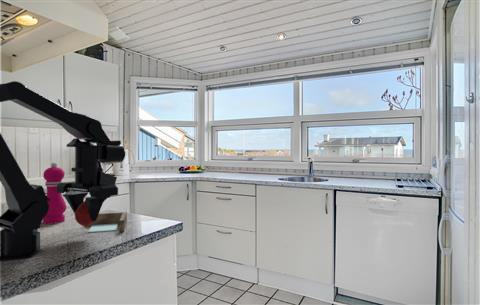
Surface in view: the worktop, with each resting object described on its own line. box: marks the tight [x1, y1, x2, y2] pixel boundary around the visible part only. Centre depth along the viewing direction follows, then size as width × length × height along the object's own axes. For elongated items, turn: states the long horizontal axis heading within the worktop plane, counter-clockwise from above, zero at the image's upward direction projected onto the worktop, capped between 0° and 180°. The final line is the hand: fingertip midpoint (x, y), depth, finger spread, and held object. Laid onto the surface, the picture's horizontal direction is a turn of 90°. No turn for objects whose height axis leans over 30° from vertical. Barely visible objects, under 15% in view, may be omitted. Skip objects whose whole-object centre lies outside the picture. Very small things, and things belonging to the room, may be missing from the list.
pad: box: [87, 223, 119, 234], centre depth 88 cm, size 8×8×1 cm
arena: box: [90, 211, 128, 233], centre depth 88 cm, size 11×12×4 cm
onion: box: [74, 199, 99, 228], centre depth 79 cm, size 6×6×8 cm
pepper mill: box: [42, 162, 67, 225], centre depth 96 cm, size 7×7×20 cm
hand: (86, 219), depth 79 cm, fingers closed on onion, 6 cm apart
